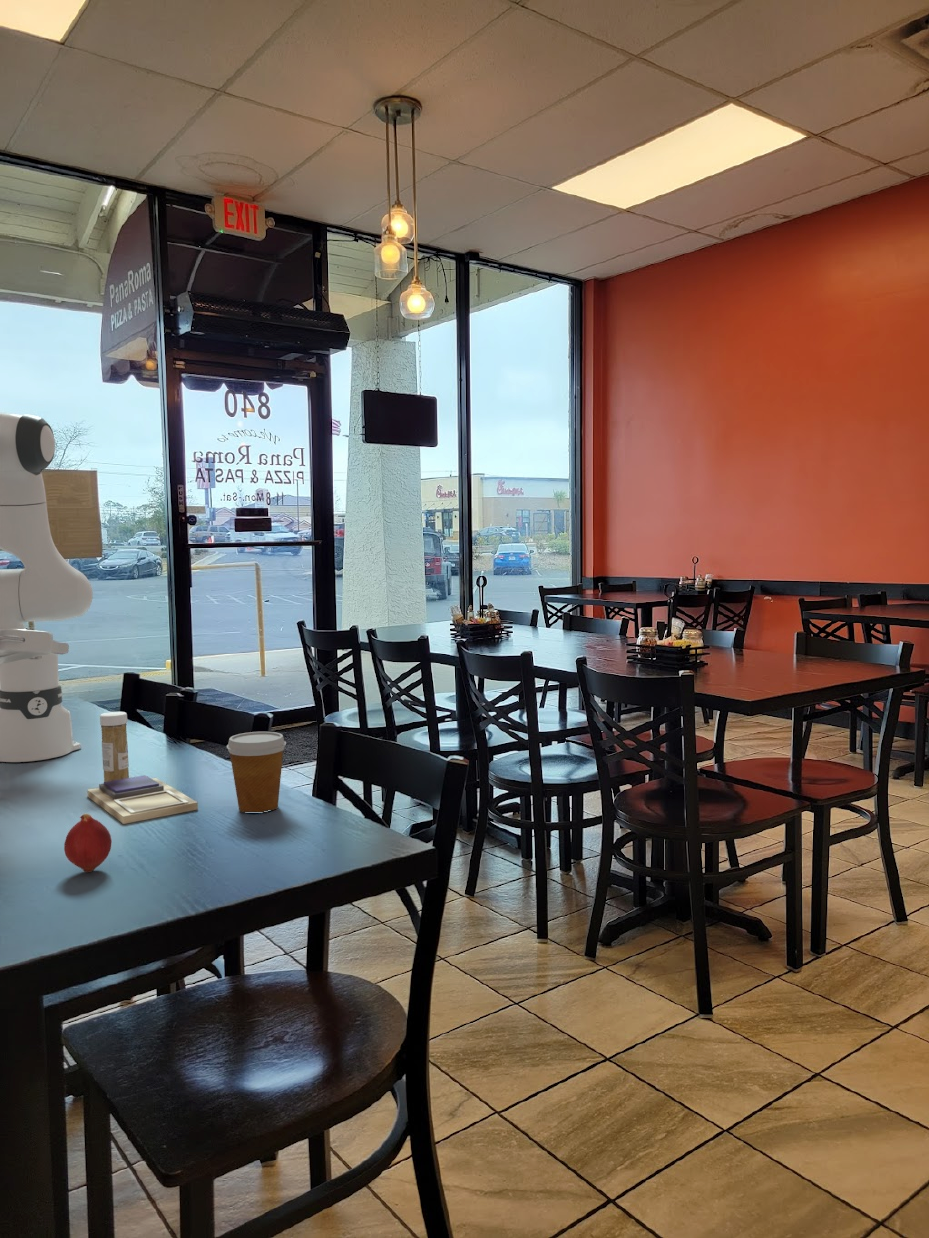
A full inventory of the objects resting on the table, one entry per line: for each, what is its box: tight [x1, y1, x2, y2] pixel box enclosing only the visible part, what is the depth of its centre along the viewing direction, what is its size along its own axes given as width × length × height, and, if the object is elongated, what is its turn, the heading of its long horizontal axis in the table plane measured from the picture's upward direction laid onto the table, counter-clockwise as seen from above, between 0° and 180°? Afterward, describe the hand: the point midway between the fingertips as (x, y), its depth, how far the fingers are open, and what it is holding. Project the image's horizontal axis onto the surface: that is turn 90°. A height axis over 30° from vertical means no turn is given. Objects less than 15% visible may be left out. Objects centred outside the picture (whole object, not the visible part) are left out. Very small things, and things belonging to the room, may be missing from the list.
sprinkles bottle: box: [99, 711, 130, 783], centre depth 162 cm, size 5×5×14 cm
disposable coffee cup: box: [226, 731, 287, 813], centre depth 147 cm, size 10×10×12 cm
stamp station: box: [86, 774, 199, 825], centre depth 152 cm, size 20×12×2 cm, turn 38°
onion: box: [63, 813, 113, 873], centre depth 120 cm, size 6×6×8 cm
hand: (53, 651), depth 155 cm, fingers open, 8 cm apart
